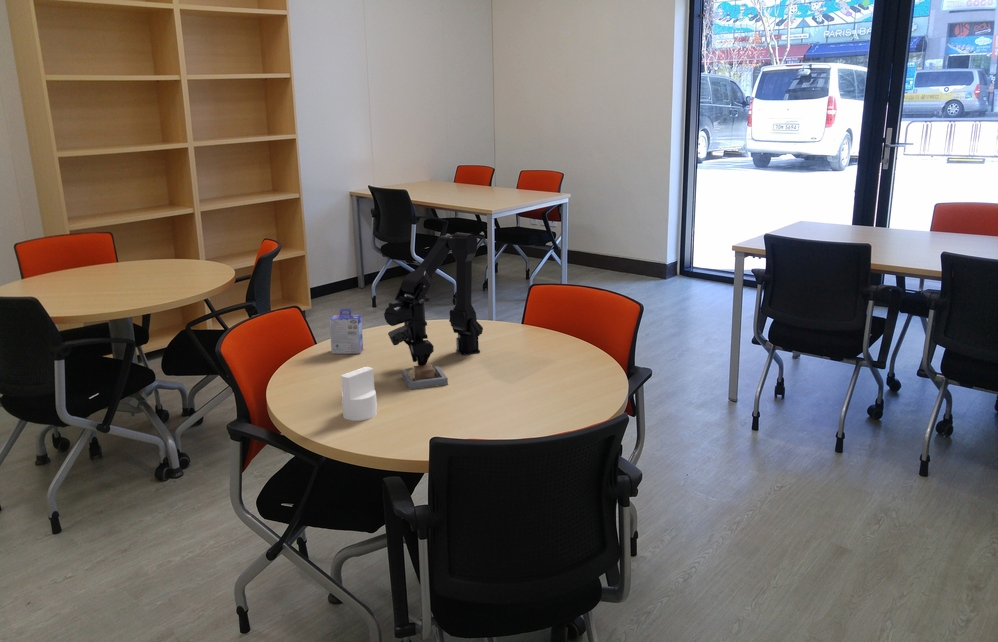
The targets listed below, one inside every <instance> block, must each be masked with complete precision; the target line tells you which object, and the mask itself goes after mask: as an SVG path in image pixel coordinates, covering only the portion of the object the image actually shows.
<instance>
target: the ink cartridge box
mask: <svg viewBox="0 0 998 642" xmlns="http://www.w3.org/2000/svg"><path fill="white" fill-rule="evenodd" d="M328 320H329V334H330V335H329V336H330V345H331V346H330V347H331V354H332V355H333V354H335V355H336V354H337V355H338V354H339V355H341V354H345V355H346V354H347V355H349V354H350V355H351V354H352V355H353V354H361V353H362V352H363V350H364V340H363V339H364V338H363V324H362V323H363V322H362V314H352V308H340V310H339V314H338V315H336V314H334V315H332V316H330V318H329V319H328Z"/></svg>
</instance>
